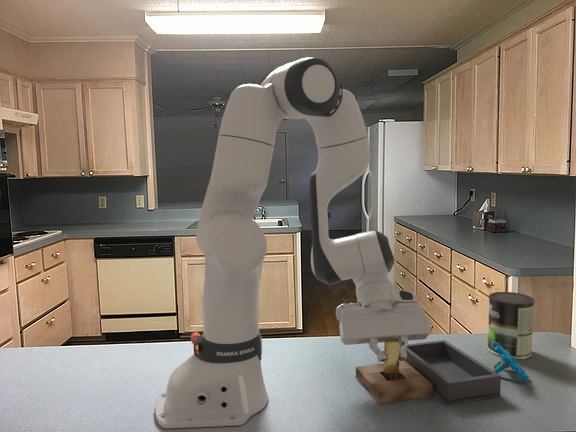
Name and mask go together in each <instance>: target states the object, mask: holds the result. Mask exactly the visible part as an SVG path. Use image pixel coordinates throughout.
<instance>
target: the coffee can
mask: <svg viewBox="0 0 576 432" xmlns="http://www.w3.org/2000/svg"><path fill="white" fill-rule="evenodd" d="M534 304H535V299H534V297H532V296H529V295H527V294H523V293H519V292H511V291H497V292H496V291H495V292H491V293H489V295H488V327H487V331H488V333H487V350H488V351H489V353H491V354H493V355H495V356H497V357H499V358H500V357H501V355H500V354H499V353H498V352H497V351H496V350H495V349H494V346H493V345H492V344H493V343H494V342H495V341H496V342H497V343H498V344H499V345H501V346H502V347H503V348H504V349H505V350H507V351H508V352H509V354H510V355H511V356H513V357H514V358H515V360H524V359H528V358H531V356H532V354H533V353H532V349H533V348H532V346H533V329H534V328H533V325H534V324H533V323H534V308H535V307H534V306H535V305H534Z"/></svg>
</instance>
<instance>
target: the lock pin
mask: <svg viewBox="0 0 576 432" xmlns="http://www.w3.org/2000/svg"><path fill="white" fill-rule="evenodd" d="M383 344H384V347H383V349H384V350H383V351H385V353H386V354H385V355H386V357H387V360H386V361H384V362H383V363H384V378H385V379H386V380H387V381H392V380H399V361H400V360H399V359H400V342H399V341H398V340H396V339H386V340H385V341H384V342H383Z"/></svg>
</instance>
